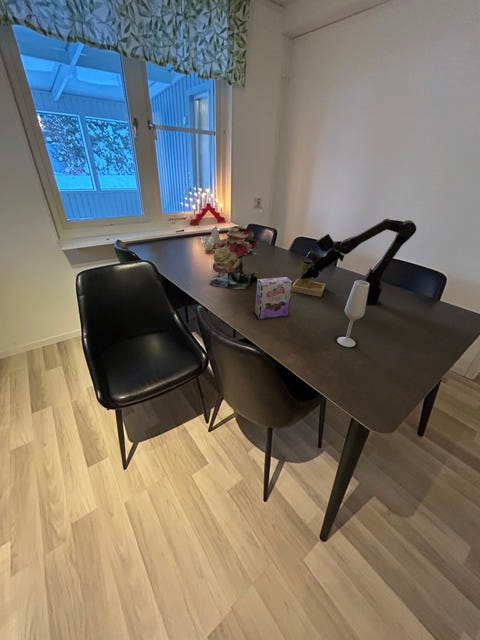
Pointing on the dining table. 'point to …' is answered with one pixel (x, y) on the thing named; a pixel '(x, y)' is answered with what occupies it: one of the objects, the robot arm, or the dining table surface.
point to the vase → (303, 282)
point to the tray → (314, 289)
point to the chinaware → (211, 239)
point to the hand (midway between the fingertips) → (302, 276)
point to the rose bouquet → (234, 259)
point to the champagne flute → (355, 308)
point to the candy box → (273, 297)
